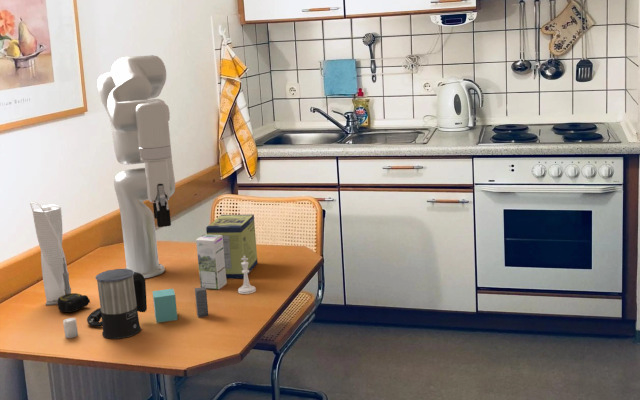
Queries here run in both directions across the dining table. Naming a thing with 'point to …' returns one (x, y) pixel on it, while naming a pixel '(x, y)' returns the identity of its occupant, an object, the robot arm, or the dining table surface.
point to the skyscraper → (51, 252)
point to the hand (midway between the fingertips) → (162, 222)
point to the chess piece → (246, 279)
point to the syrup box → (211, 261)
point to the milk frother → (119, 303)
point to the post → (201, 302)
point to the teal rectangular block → (165, 305)
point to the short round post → (70, 328)
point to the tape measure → (72, 302)
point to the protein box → (236, 242)
